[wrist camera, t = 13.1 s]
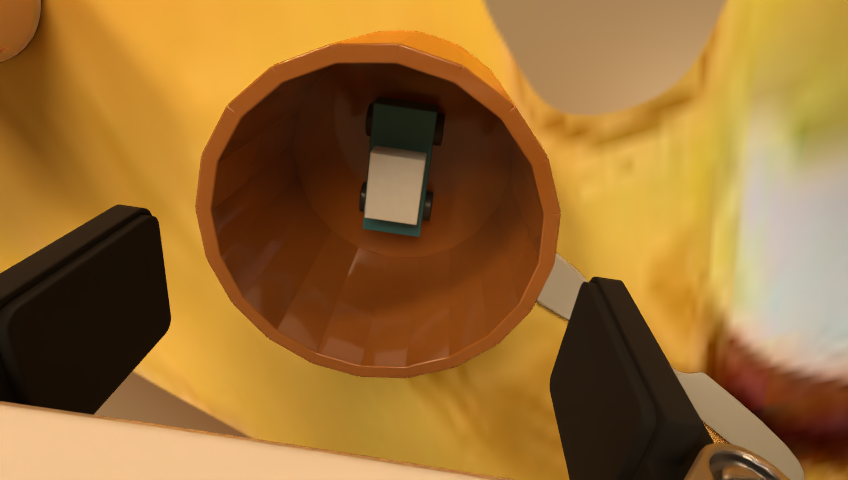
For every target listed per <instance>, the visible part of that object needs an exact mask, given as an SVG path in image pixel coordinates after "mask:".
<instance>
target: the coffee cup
mask: <svg viewBox="0 0 848 480" xmlns="http://www.w3.org/2000/svg"><path fill="white" fill-rule="evenodd" d="M40 14H41V0H0V62H2V61H5V60H7V59H10V58H12V57H13V56H15V55H17V54H18V53H19V52H20V51H22V50H23V49H24V48H25V47H26V46H27V45H28V43H29V42H30V40H31V39H32V38H33V36H34V34H35V32H36V29H37V26H38V23H39V19H40Z"/></svg>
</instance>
